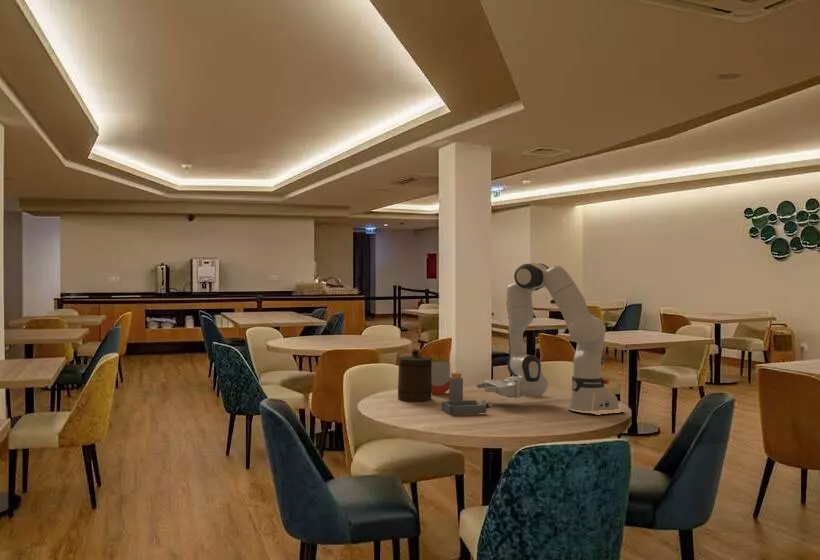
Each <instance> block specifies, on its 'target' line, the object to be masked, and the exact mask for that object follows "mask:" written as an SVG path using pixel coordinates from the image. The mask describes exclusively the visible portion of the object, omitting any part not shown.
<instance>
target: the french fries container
mask: <svg viewBox="0 0 820 560" xmlns="http://www.w3.org/2000/svg"><path fill="white" fill-rule="evenodd" d="M450 357H451V356H446V357H444V355H443V354H441V355H440V358H439V357H438V355H437V354H435V355H434V354H430V355H429V358H431V359H432V363H431V364H432V365H431V378H432V390H431V393H436V394H435V395H444V394H445V393H446V392H447V391H449V377H451V362H450Z"/></svg>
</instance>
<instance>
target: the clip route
mask: <svg viewBox="0 0 820 560" xmlns="http://www.w3.org/2000/svg"><path fill="white" fill-rule="evenodd" d="M477 405H480V402H477ZM481 405H486V406H493V405H492V401H488V402H486V401H485V400H481Z"/></svg>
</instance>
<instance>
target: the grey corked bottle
mask: <svg viewBox="0 0 820 560" xmlns="http://www.w3.org/2000/svg"><path fill="white" fill-rule="evenodd" d="M461 373H462V372H461ZM461 373H460V372H450V377H449V390H448V401H464V400H463V396H464V392H463V391H464V378H462V374H461Z"/></svg>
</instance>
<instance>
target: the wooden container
mask: <svg viewBox="0 0 820 560" xmlns="http://www.w3.org/2000/svg"><path fill="white" fill-rule="evenodd" d="M431 363H432V359H431V358H430V356H429V357H428V356H421V355H420V350H419V349H416V348H414V349H412V350H411V354H410V356H408V355H407V356H399V357H398V376H397V378H398V379H397V398H398V400H400V401H403V402H412V403H413V402H416V403H418V402H419V403H420V402H428V401H431V400H432V394H431V390H432V378H431V365H432V364H431Z"/></svg>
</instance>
